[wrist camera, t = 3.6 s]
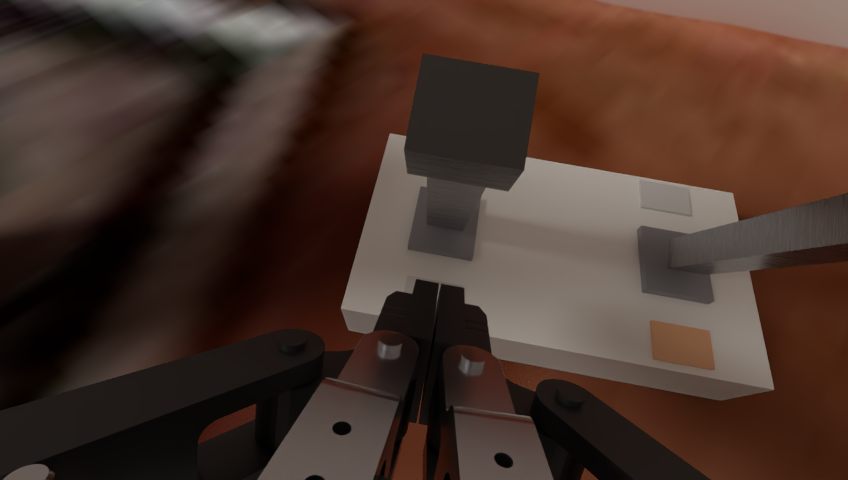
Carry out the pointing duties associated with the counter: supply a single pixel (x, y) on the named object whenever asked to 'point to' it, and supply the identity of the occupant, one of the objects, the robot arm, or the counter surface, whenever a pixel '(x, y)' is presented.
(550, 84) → the counter surface
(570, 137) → the counter surface
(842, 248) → the lever
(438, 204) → the lever
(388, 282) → the switch unit
